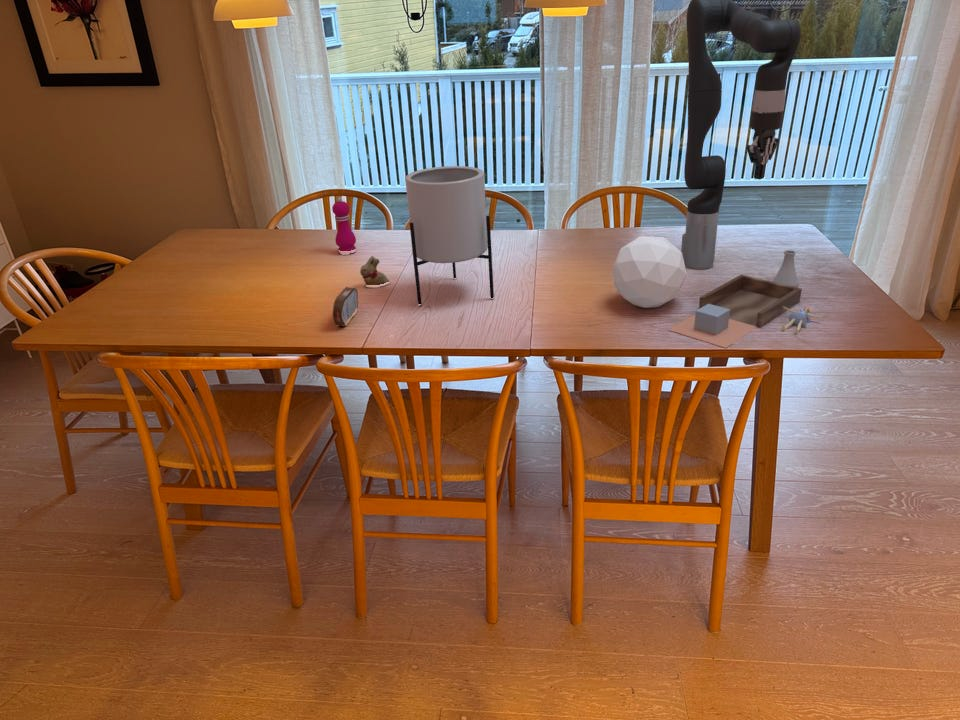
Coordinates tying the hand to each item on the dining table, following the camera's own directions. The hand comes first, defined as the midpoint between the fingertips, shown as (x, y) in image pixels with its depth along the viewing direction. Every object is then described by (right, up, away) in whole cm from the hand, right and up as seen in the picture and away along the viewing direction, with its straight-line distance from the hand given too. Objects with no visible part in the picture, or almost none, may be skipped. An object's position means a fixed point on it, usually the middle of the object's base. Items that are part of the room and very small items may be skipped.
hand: (758, 178), depth 181 cm
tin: (-110, -36, +13) cm, 117 cm away
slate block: (-14, -39, -6) cm, 42 cm away
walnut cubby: (-1, -33, +5) cm, 34 cm away
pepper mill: (-121, -9, +68) cm, 139 cm away
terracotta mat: (-14, -40, -5) cm, 42 cm away
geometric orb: (-27, -32, +11) cm, 43 cm away
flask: (+15, -26, +18) cm, 35 cm away
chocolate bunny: (-106, -24, +36) cm, 114 cm away
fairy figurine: (+7, -39, -6) cm, 40 cm away
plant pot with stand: (-80, -28, +25) cm, 88 cm away
